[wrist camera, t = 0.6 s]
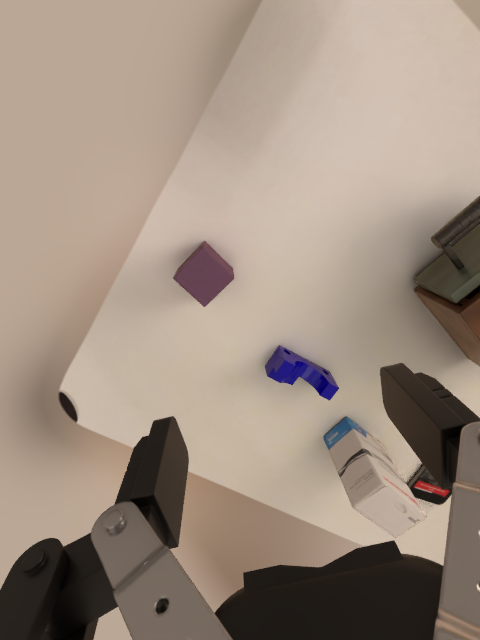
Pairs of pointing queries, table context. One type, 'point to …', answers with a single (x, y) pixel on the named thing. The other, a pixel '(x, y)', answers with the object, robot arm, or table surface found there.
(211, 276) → the block
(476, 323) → the cabinet
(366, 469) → the ink box
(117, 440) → the table surface
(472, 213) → the drawer
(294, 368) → the cable holder
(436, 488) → the smartphone
